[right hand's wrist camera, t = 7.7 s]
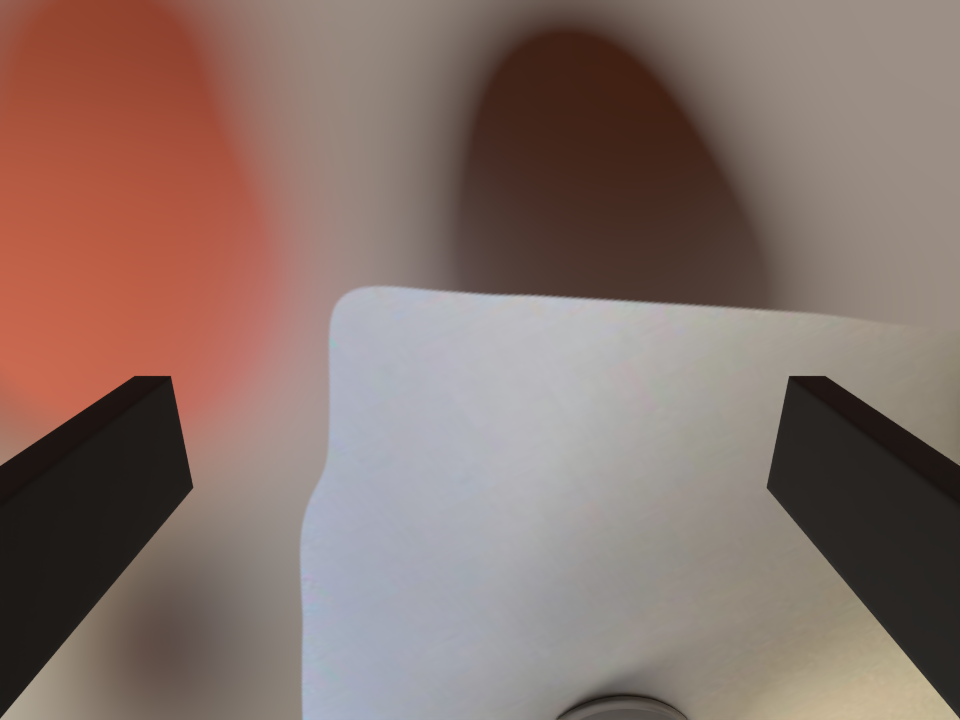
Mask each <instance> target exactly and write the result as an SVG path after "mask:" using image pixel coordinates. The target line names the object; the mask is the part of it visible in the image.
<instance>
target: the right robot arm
mask: <svg viewBox="0 0 960 720" xmlns="http://www.w3.org/2000/svg"><path fill="white" fill-rule="evenodd" d="M192 489H193V484H192V479H191V474H190V469H189V464H188V459H187V454H186V449H185V444H184V439H183V434H182V429H181V424H180V419H179V414H178V409H177V404H176V399H175V394H174V390H173V384H172V380H171V376H134V377H133V378H131V379H130V380H128V381H127V382H125V383H124V384H122V385H121V386H119V387H118V388H116V389H115V390H113V391H112V392H110V393H109V394H107V395H106V396H104V397H103V398H101V399H100V400H98V401H97V402H95V403H94V404H92V405H91V406H89V407H88V408H86V409H85V410H83V411H82V412H80V413H79V414H77V415H76V416H74V417H73V418H71V419H70V420H68V421H67V422H65V423H64V424H62V425H61V426H59V427H58V428H56V429H55V430H53V431H52V432H50V433H49V434H47V435H46V436H44V437H43V438H41V439H40V440H38V441H37V442H35V443H34V444H32V445H31V446H29V447H28V448H26V449H25V450H23V451H22V452H20V453H19V454H17V455H16V456H14V457H13V458H12V459H10V460H8V461H7V462H6V463H4V464H3V465H1V466H0V718H1V717H2V716H3V715H4V713H5V712H6V711H7V710H8V709H9V707H10V706H11V705H12V704H13V703H14V701H15V700H16V699H17V698H18V697H19V696H20V694H21V693H22V692H23V691H24V690H25V688H26V687H27V686H28V685H29V684H30V682H31V681H32V680H33V679H34V677H35V676H36V675H37V674H38V673H39V672H40V670H41V669H42V668H43V667H44V666H45V664H46V663H47V662H48V661H49V660H50V658H51V657H52V656H53V655H54V654H55V652H56V651H57V650H58V649H59V648H60V646H61V645H62V644H63V643H64V642H65V641H66V639H67V638H68V637H69V636H70V635H71V633H72V632H73V631H74V630H75V629H76V627H77V626H78V625H79V624H80V623H81V621H82V620H83V619H84V618H85V617H86V615H87V614H88V613H89V612H90V611H91V609H92V608H93V607H94V606H95V605H96V603H97V602H98V601H99V600H100V599H101V597H102V596H103V595H104V594H105V593H106V592H107V590H108V589H109V588H110V587H111V585H112V584H113V583H114V582H115V581H116V580H117V578H118V577H119V576H120V575H121V574H122V572H123V571H124V570H125V569H126V568H127V566H128V565H129V564H130V563H131V562H132V560H133V559H134V558H135V557H136V556H137V554H138V553H139V552H140V551H141V550H142V548H143V547H144V546H145V545H146V544H147V542H148V541H149V540H150V539H151V538H152V537H153V535H154V534H155V533H156V532H157V531H158V529H159V528H160V527H161V526H162V525H163V523H164V522H165V521H166V520H167V519H168V517H169V516H170V515H171V514H172V513H173V511H174V510H175V509H176V508H177V507H178V505H179V504H180V503H181V502H182V501H183V499H184V498H185V497H186V496H187V495H188V493H189V492H190V491H191V490H192ZM767 489H768V490H769V491H770V492H771V493H772V495H773V496H774V497H775V498H776V499H777V501H778V502H779V503H780V504H781V505H782V507H783V508H784V509H785V510H786V511H787V513H788V514H789V515H790V516H791V517H792V519H793V520H794V521H795V522H796V523H797V525H798V526H799V527H800V528H801V529H802V531H803V532H804V533H805V534H806V535H807V537H808V538H809V539H810V540H811V541H812V542H813V544H814V545H815V546H816V547H817V548H818V550H819V551H820V552H821V553H822V554H823V556H824V557H825V558H826V559H827V560H828V562H829V563H830V564H831V565H832V566H833V568H834V569H835V570H836V571H837V572H838V574H839V575H840V576H841V577H842V578H843V580H844V581H845V582H846V583H847V584H848V586H849V587H850V588H851V589H852V590H853V592H854V593H855V594H856V595H857V596H858V597H859V599H860V600H861V601H862V602H863V603H864V605H865V606H866V607H867V608H868V609H869V611H870V612H871V613H872V614H873V615H874V617H875V618H876V619H877V620H878V621H879V623H880V624H881V625H882V626H883V627H884V629H885V630H886V631H887V632H888V633H889V635H890V636H891V637H892V638H893V639H894V641H895V642H896V643H897V644H898V645H899V646H900V648H901V649H902V650H903V651H904V652H905V654H906V655H907V656H908V657H909V658H910V660H911V661H912V662H913V663H914V664H915V666H916V667H917V668H918V669H919V670H920V672H921V673H922V674H923V675H924V676H925V678H926V679H927V680H928V681H929V682H930V684H931V685H932V686H933V687H934V688H935V690H936V691H937V692H938V693H939V694H940V696H941V697H942V698H943V699H944V700H945V701H946V703H947V704H948V705H949V706H950V707H951V709H952V710H953V711H954V712H955V713H956V715H957V716H958V717H959V718H960V466H959V465H957V464H956V463H955V462H953V461H952V460H950V459H949V458H947V457H946V456H944V455H943V454H941V453H940V452H938V451H937V450H935V449H934V448H932V447H931V446H929V445H928V444H926V443H925V442H923V441H922V440H920V439H919V438H917V437H916V436H914V435H913V434H911V433H910V432H908V431H907V430H905V429H904V428H902V427H901V426H899V425H898V424H896V423H895V422H893V421H892V420H890V419H889V418H887V417H886V416H884V415H883V414H881V413H880V412H878V411H877V410H875V409H874V408H872V407H871V406H869V405H868V404H866V403H865V402H863V401H862V400H860V399H859V398H857V397H856V396H854V395H853V394H851V393H850V392H848V391H847V390H845V389H844V388H842V387H841V386H839V385H838V384H836V383H835V382H833V381H832V380H830V379H829V378H827V377H826V376H789V380H788V384H787V389H786V394H785V399H784V404H783V409H782V414H781V419H780V424H779V429H778V434H777V439H776V444H775V449H774V454H773V459H772V464H771V469H770V474H769V479H768V484H767ZM558 720H687V719H686V718H685V717H684V716H683V715H682V714H681V713H679V712H678V711H676V710H675V709H673V708H672V707H670V706H668V705H666V704H664V703H661V702H658V701H655V700H651V699H647V698H642V697H633V696H618V697H608V698H603V699H598V700H594V701H591V702H588V703H585V704H583V705H580V706H578V707H576V708H574V709H572V710H571V711H569V712H567V713H566V714H564V715H563V716H562V717H560V718H559V719H558Z"/></svg>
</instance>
